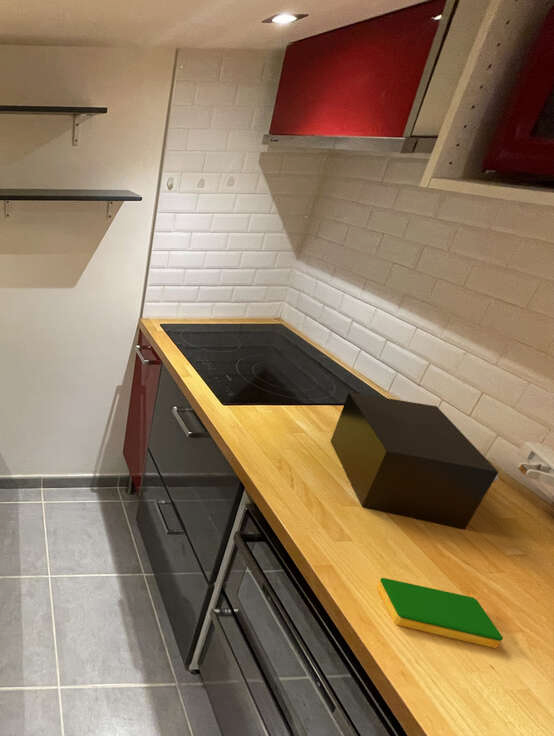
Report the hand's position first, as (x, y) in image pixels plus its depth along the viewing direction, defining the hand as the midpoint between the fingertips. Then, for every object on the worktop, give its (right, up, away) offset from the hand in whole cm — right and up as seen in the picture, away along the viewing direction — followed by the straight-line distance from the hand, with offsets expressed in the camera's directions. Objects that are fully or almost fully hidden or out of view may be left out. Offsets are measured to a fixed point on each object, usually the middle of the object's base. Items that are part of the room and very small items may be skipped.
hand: (522, 469), depth 93 cm
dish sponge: (-37, -19, -19) cm, 46 cm away
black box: (-20, -6, +10) cm, 23 cm away
